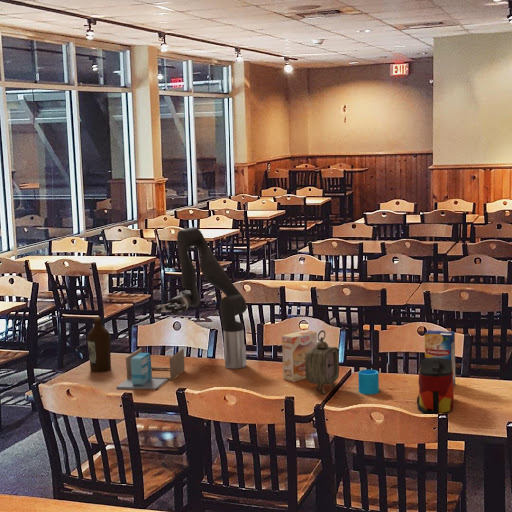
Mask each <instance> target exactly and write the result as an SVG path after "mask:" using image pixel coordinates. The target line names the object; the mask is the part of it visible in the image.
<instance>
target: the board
mask: <svg viewBox="0 0 512 512" xmlns="http://www.w3.org/2000/svg"><path fill="white" fill-rule="evenodd" d="M166 381H167V382H168V380H167V379H151V380H149V381H148V382H147V383H145V384H144V385H133V384H132V378H128V379H127V378H126V380H124V381H123V382H121V383H120V384H118V385H116V390H135V389H157V388H158V389H159V387H160V386H161V385H162V384H163V385H165V384H166V383H167V382H166ZM165 382H166V383H165ZM164 383H165V384H164ZM163 385H162V386H163ZM162 386H161V387H162ZM161 387H160V388H161ZM158 389H157V390H158Z"/></svg>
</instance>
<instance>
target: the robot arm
mask: <svg viewBox="0 0 512 512" xmlns="http://www.w3.org/2000/svg"><path fill="white" fill-rule="evenodd" d="M176 236H177V237H176V238H177V239H176V241H177V247H178V256H179V261H180V267H181V287H182V288H184V289H185V291H184V290H182V291H180V292H179V294H178V295H177V296H175V297H173V298H170V300H168V302H167V303H166V304H158V305H155V309H154V310H155V312H156V313H157V314H159V313H170V314H172V315H178V314H180V313H182V312H186V311H188V308H189V307H193V308H195V307H198V306H199V304H200V302H201V300H200V298H201V297H200V294H199V290H198V287H197V272H196V271H197V270H196V267H195V265H194V264H193V262H192V260H191V259H190V257H189V248H193V247H194V248H196V249H197V251H198V253H199V256H200V258H199V259H200V262H199V269H200V272H201V273H202V275H203V277H204V278H205V280H206V281H207V282H208V283H209V284H210V285H212V286H213V287H215V288H216V289H218V290H219V291H220V292H222V293H223V294H224V295H225V296H224V297H222V298H221V300H220V303H219V309H220V320H221V325H222V328H223V347H224V349H223V350H224V366H225V368H227V369H234V370H235V369H244V368H245V367H246V366H247V350H246V348H247V347H246V344H245V332H244V330H245V329H244V323H243V322H240V321H237V320H236V316H238V315H242V314H244V313H245V312H246V311H247V307H248V306H247V302H246V299H245V297H244V296H243V294H242V293H241V292H240V291H239V290H238V288H237V287H236V286H235V284H233V282H232V280H231V279H230V278H229V276H228V275H227V273H226V272H225V270H224V269H223V266H222V265H221V264H220V262H219V261H218V259H217V258H216V257H215V255H214V253H213V252H212V250H211V248H210V247H209V245H208V242H207V241H206V239H205V237H204V234H203V233H202V231H201V230H200V229H199V228H198V227H195V226H193V227H188V228H183V229H180V230H179V231H177V235H176ZM186 290H188V291H186Z"/></svg>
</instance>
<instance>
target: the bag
mask: <svg viewBox="0 0 512 512" xmlns="http://www.w3.org/2000/svg"><path fill="white" fill-rule="evenodd" d="M418 387H419V388H418V395H417V397H416V404H417V410H418V411H419V412H420V413H421V414H422V415H424V414H434V415H439V414H438V413H446V414H449V413H452V412H453V411H454V403H455V401H454V399H455V397H454V395H455V394H454V386H453V367H452V361H451V360H448V359H444V358H427V359H425V358H423V359H422V360H420V366H419V373H418Z"/></svg>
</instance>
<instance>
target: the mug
mask: <svg viewBox="0 0 512 512" xmlns="http://www.w3.org/2000/svg"><path fill="white" fill-rule="evenodd" d="M357 373H358V376H357V377H358V393H359V394H361V395H362V394H363V395H376V394H379V393H380V388H379V387H380V384H379V383H380V379H379V371H378V370H376V369H361V370H359V371H357Z"/></svg>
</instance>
